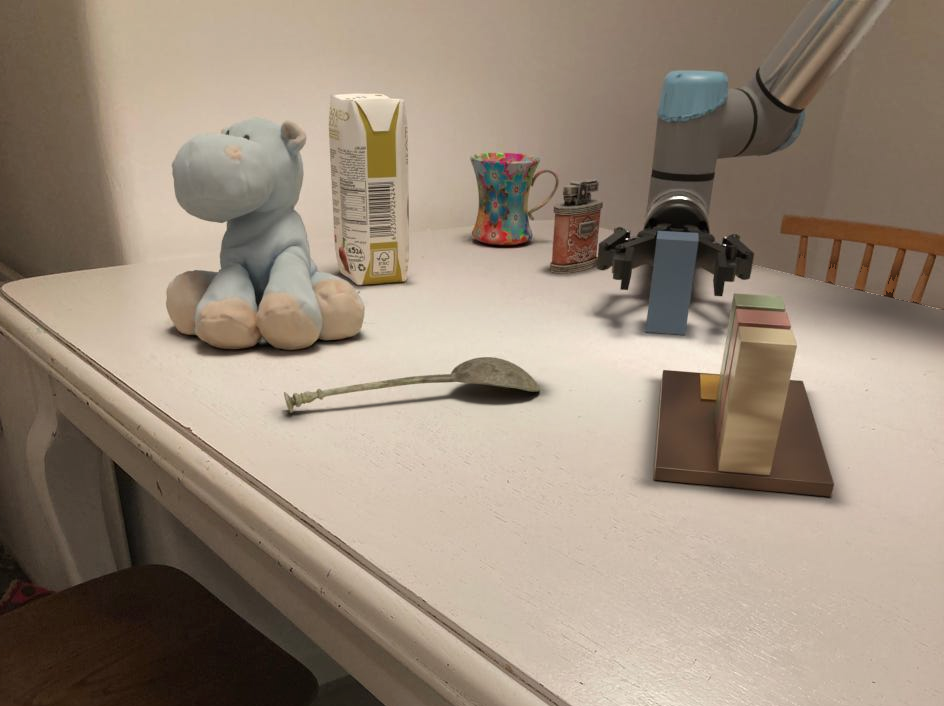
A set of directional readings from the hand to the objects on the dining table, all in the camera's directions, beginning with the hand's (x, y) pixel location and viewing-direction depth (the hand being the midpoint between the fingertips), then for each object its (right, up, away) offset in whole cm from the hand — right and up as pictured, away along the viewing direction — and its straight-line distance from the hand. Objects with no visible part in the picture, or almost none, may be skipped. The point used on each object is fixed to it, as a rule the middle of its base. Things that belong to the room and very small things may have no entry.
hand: (672, 278), depth 92 cm
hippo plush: (-40, -2, +7) cm, 41 cm away
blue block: (+1, -2, +7) cm, 8 cm away
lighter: (-6, +12, +30) cm, 33 cm away
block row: (+1, -18, -17) cm, 25 cm away
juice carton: (-31, +9, +23) cm, 40 cm away
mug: (-13, +21, +42) cm, 48 cm away
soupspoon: (-24, -15, -12) cm, 31 cm away
